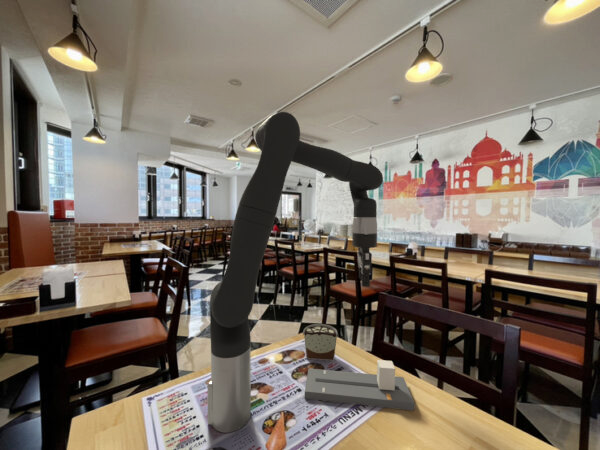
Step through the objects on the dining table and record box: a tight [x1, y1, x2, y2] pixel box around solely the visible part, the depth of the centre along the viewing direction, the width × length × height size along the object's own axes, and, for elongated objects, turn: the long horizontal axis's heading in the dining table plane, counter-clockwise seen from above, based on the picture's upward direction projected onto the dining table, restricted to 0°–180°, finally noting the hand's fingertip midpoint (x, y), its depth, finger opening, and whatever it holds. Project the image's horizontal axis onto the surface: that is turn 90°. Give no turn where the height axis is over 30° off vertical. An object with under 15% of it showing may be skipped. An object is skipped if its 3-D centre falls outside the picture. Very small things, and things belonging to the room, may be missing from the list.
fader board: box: [304, 367, 415, 412], centre depth 68 cm, size 28×10×2 cm, turn 82°
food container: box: [302, 323, 339, 362], centre depth 86 cm, size 12×6×10 cm, turn 84°
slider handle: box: [376, 359, 396, 391], centre depth 67 cm, size 4×4×6 cm
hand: (363, 282), depth 77 cm, fingers open, 8 cm apart
